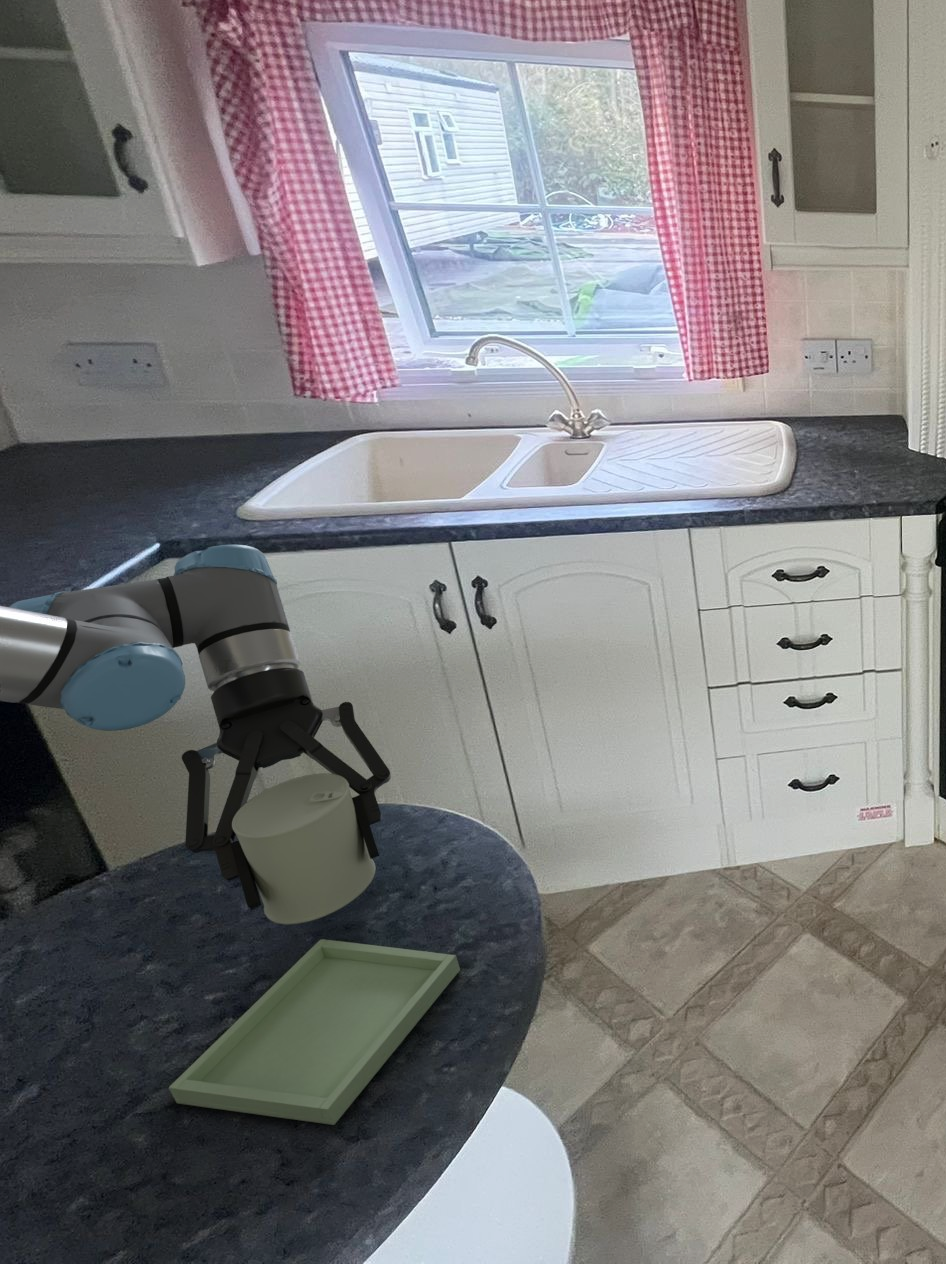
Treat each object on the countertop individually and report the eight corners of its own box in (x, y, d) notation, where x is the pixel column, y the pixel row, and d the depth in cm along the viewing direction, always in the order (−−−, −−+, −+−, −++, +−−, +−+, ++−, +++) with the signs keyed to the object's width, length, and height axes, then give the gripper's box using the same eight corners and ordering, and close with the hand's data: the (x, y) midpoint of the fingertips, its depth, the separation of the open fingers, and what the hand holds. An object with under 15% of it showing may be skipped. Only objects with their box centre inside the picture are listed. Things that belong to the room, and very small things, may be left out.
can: (360, 910, 85) (330, 820, 81) (248, 935, 82) (210, 843, 77) (387, 846, 93) (361, 761, 89) (285, 867, 90) (253, 779, 85)
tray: (176, 1103, 70) (167, 1087, 69) (326, 953, 84) (320, 938, 83) (334, 1125, 69) (327, 1109, 68) (460, 969, 83) (456, 954, 82)
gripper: (381, 656, 98) (440, 833, 94) (122, 730, 84) (177, 943, 79) (379, 635, 93) (441, 822, 88) (102, 711, 79) (160, 939, 74)
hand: (316, 879), depth 84 cm, fingers closed on can, 9 cm apart
